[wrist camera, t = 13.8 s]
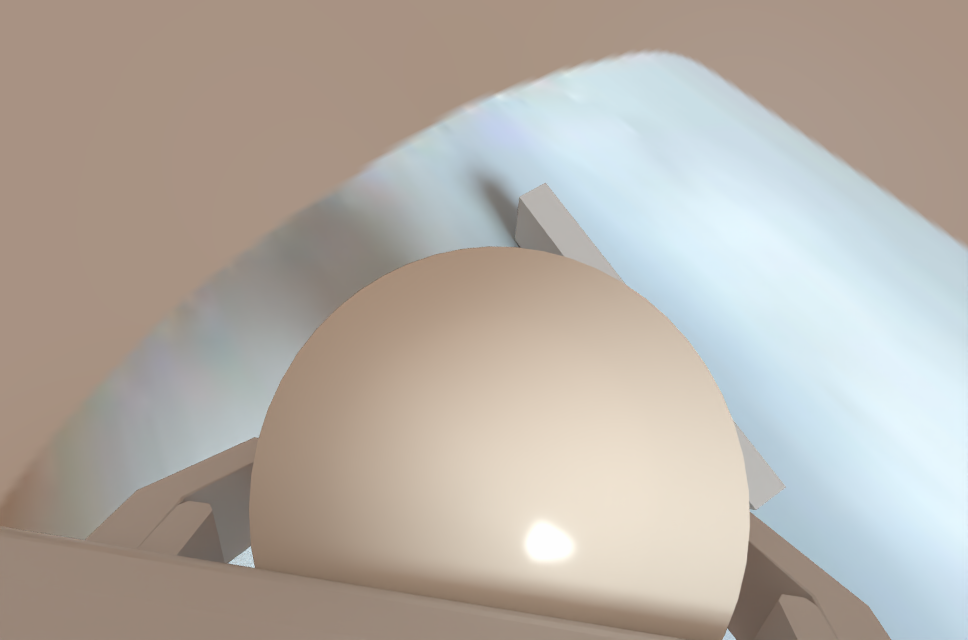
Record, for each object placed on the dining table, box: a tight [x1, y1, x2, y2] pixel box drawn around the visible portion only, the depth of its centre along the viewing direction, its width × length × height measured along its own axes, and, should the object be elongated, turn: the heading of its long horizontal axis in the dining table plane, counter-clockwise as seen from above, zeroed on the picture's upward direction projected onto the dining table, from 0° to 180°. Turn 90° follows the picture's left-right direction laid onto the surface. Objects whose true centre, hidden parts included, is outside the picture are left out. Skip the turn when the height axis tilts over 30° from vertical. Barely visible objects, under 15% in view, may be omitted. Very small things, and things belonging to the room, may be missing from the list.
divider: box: [515, 183, 786, 510], centre depth 21 cm, size 2×16×4 cm, turn 31°
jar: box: [249, 247, 750, 640], centre depth 11 cm, size 7×7×10 cm
